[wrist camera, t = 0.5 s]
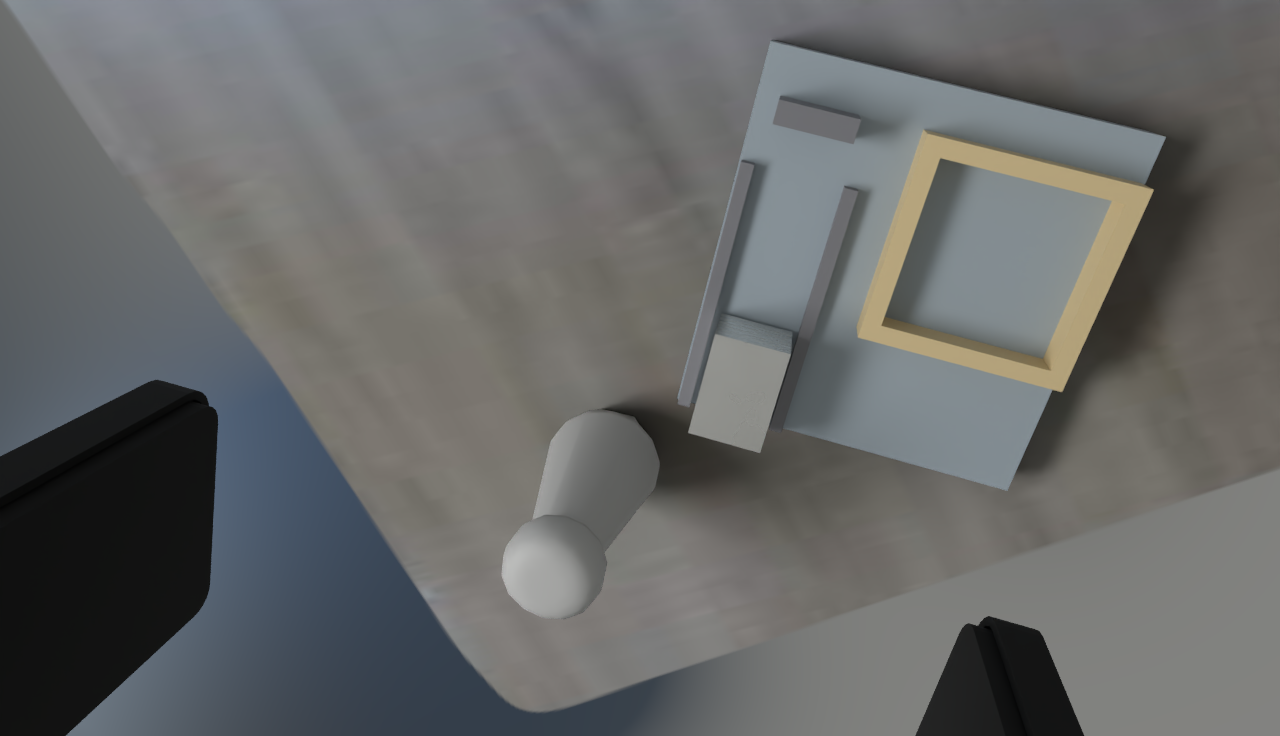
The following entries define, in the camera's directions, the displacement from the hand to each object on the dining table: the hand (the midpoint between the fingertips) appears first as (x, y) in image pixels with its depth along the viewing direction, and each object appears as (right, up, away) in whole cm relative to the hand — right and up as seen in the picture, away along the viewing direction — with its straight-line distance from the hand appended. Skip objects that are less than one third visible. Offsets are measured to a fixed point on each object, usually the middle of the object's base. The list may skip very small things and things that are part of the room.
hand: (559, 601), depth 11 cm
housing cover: (+6, +3, +32) cm, 32 cm away
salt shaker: (0, -1, +37) cm, 37 cm away
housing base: (+13, +7, +31) cm, 34 cm away
